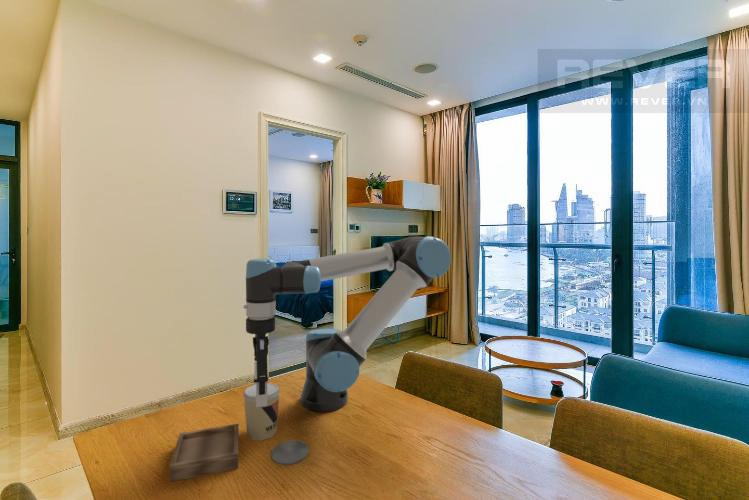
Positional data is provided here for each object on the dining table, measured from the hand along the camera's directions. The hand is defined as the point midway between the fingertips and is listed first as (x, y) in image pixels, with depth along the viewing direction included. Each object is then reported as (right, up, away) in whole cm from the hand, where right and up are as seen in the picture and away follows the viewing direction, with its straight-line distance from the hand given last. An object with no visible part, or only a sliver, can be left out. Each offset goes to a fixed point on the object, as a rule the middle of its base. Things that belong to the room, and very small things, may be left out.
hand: (260, 394), depth 100 cm
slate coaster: (+10, -11, -9) cm, 17 cm away
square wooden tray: (-10, -11, -10) cm, 18 cm away
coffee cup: (0, -11, +1) cm, 11 cm away
